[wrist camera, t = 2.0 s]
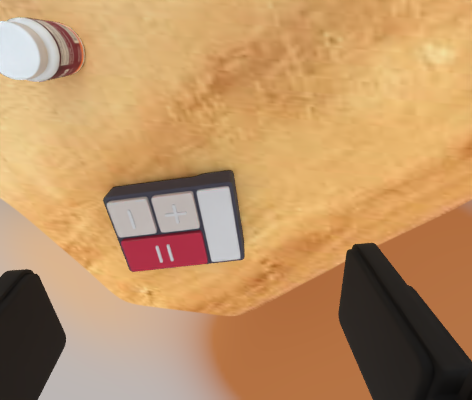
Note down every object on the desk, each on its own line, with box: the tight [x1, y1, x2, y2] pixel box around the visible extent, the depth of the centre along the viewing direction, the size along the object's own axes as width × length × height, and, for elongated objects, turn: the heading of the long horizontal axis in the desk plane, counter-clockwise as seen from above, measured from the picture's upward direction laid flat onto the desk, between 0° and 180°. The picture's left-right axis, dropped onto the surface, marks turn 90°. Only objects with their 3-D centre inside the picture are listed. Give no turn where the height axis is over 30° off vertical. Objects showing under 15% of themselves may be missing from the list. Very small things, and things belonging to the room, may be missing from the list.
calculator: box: [103, 170, 244, 272], centre depth 38 cm, size 11×4×15 cm
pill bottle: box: [0, 17, 85, 82], centre depth 27 cm, size 5×5×8 cm
